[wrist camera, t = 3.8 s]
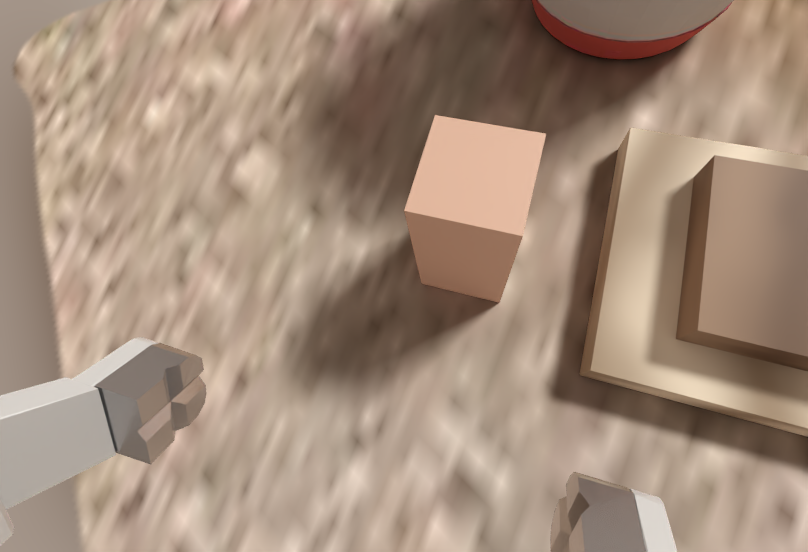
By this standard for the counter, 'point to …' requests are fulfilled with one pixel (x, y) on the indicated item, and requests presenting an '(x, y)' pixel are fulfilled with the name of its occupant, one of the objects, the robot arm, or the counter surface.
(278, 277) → the counter surface
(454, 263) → the pillar block
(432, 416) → the counter surface
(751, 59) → the counter surface
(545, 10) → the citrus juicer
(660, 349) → the stepped pedestal
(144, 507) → the counter surface
